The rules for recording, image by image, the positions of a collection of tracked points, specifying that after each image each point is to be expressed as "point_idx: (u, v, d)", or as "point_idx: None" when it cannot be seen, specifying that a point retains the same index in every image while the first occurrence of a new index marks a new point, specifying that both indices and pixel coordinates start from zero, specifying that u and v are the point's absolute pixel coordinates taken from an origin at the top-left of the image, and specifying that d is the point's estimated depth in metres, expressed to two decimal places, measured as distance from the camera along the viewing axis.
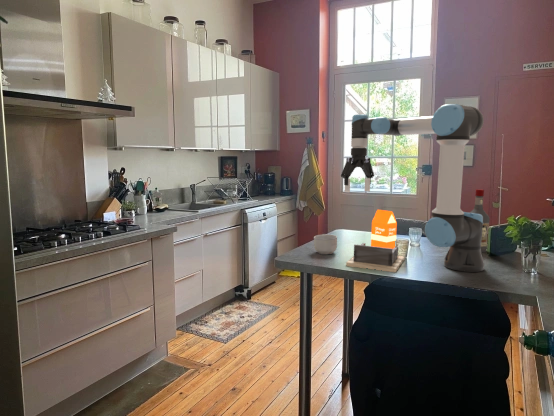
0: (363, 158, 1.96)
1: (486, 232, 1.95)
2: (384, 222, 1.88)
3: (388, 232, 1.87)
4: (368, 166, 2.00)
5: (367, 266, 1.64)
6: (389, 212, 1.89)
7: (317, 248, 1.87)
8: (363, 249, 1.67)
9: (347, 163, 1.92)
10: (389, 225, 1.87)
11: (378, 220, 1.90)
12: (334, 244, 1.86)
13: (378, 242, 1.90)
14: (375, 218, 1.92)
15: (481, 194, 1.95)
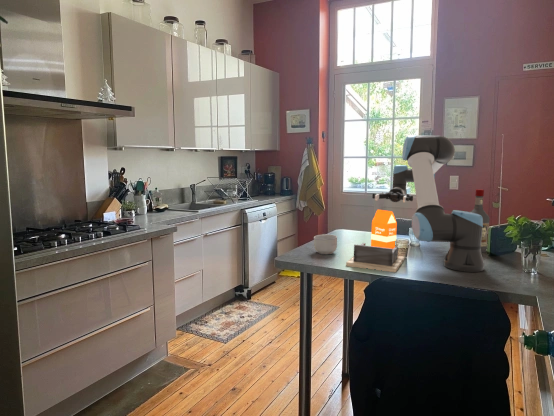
0: None
1: (486, 232, 1.95)
2: (384, 222, 1.87)
3: (388, 232, 1.87)
4: None
5: (367, 266, 1.64)
6: (389, 212, 1.89)
7: (317, 248, 1.87)
8: (363, 249, 1.67)
9: None
10: (389, 225, 1.87)
11: (378, 220, 1.90)
12: (334, 244, 1.86)
13: (378, 242, 1.90)
14: (375, 218, 1.92)
15: (481, 194, 1.95)
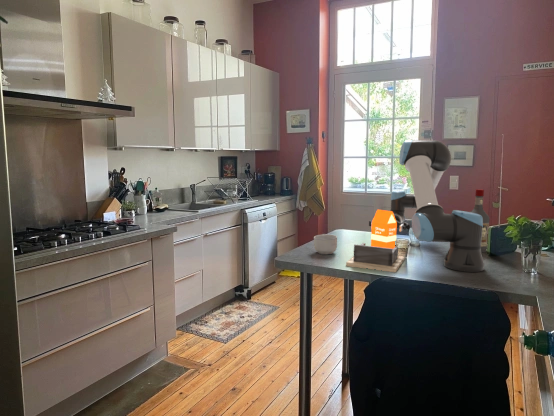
0: (396, 221, 2.11)
1: (486, 232, 1.95)
2: (384, 222, 1.87)
3: (388, 232, 1.87)
4: (404, 224, 2.06)
5: (367, 266, 1.64)
6: (389, 212, 1.89)
7: (317, 248, 1.87)
8: (363, 249, 1.67)
9: None
10: (389, 225, 1.87)
11: (378, 220, 1.90)
12: (334, 244, 1.86)
13: (378, 242, 1.90)
14: (375, 218, 1.92)
15: (481, 194, 1.95)
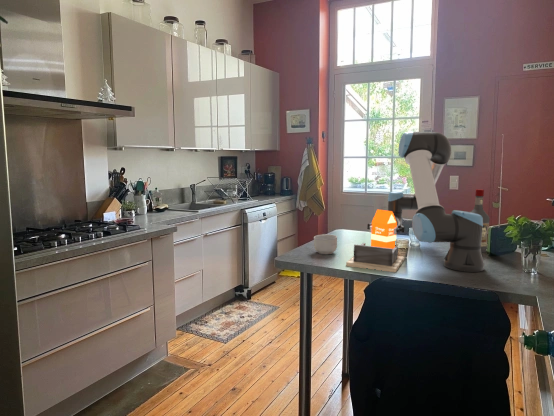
0: None
1: (486, 232, 1.95)
2: (384, 222, 1.87)
3: (388, 232, 1.87)
4: (400, 227, 1.97)
5: (367, 266, 1.64)
6: (389, 212, 1.89)
7: (317, 248, 1.87)
8: (363, 249, 1.67)
9: None
10: (389, 225, 1.87)
11: (378, 220, 1.90)
12: (334, 244, 1.86)
13: (378, 242, 1.90)
14: (375, 218, 1.92)
15: (481, 194, 1.95)
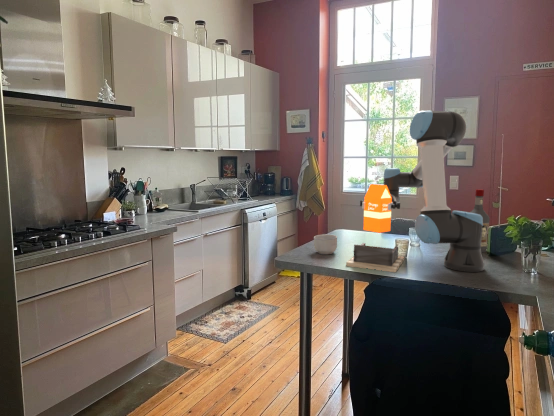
0: None
1: (486, 232, 1.95)
2: (377, 197, 1.72)
3: (382, 208, 1.71)
4: None
5: (367, 266, 1.64)
6: (383, 186, 1.73)
7: (317, 248, 1.87)
8: (363, 249, 1.67)
9: None
10: (383, 200, 1.71)
11: (372, 195, 1.74)
12: (334, 244, 1.86)
13: (372, 219, 1.75)
14: (368, 193, 1.76)
15: (481, 194, 1.95)
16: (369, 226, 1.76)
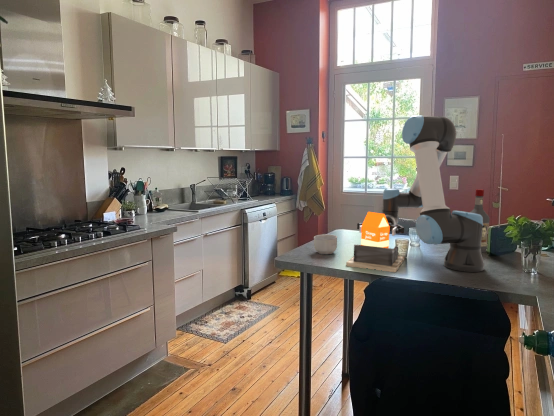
0: (388, 223, 1.83)
1: (486, 232, 1.95)
2: (375, 226, 1.68)
3: (379, 237, 1.68)
4: None
5: (367, 266, 1.64)
6: (380, 214, 1.69)
7: (317, 248, 1.87)
8: (363, 249, 1.67)
9: None
10: (380, 229, 1.68)
11: (369, 224, 1.71)
12: (334, 244, 1.86)
13: None
14: (365, 221, 1.73)
15: (481, 194, 1.95)
16: None
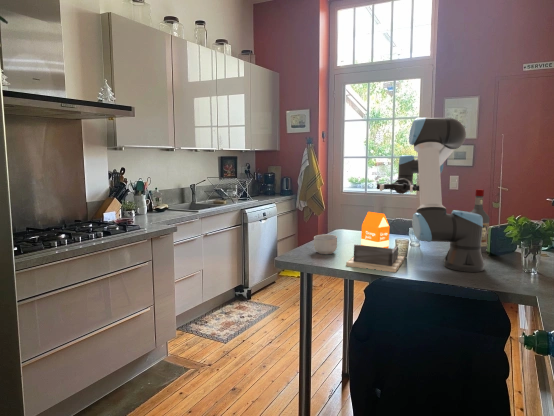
0: None
1: (486, 232, 1.95)
2: (375, 226, 1.68)
3: (379, 237, 1.68)
4: None
5: (367, 266, 1.64)
6: (380, 214, 1.69)
7: (317, 248, 1.87)
8: (363, 249, 1.67)
9: None
10: (380, 229, 1.68)
11: (369, 224, 1.71)
12: (334, 244, 1.86)
13: None
14: (365, 221, 1.73)
15: (481, 194, 1.95)
16: None
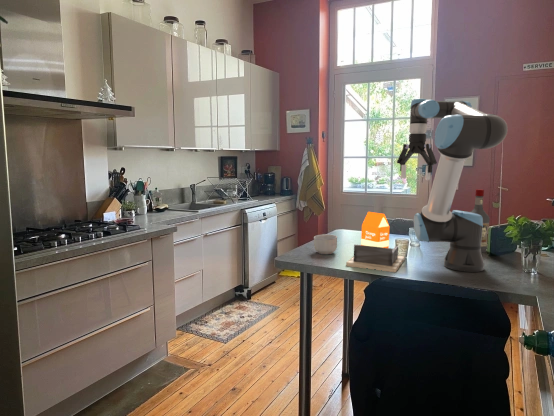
0: (419, 144, 1.87)
1: (486, 232, 1.95)
2: (375, 226, 1.68)
3: (379, 237, 1.68)
4: None
5: (367, 266, 1.64)
6: (380, 214, 1.69)
7: (317, 248, 1.87)
8: (363, 249, 1.67)
9: None
10: (380, 229, 1.68)
11: (369, 224, 1.71)
12: (334, 244, 1.86)
13: None
14: (365, 221, 1.73)
15: (481, 194, 1.95)
16: None
